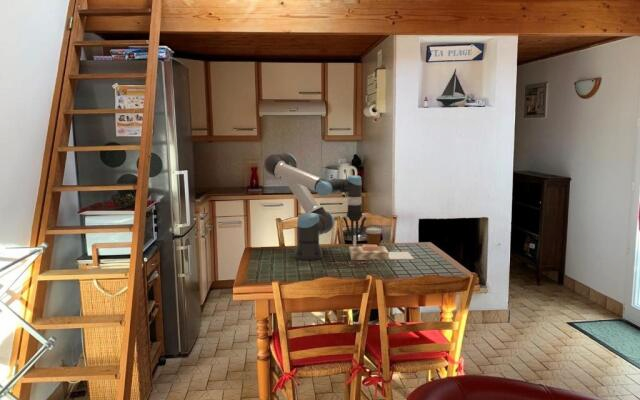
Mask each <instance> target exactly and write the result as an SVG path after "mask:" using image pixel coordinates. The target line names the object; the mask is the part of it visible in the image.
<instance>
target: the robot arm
mask: <svg viewBox="0 0 640 400" xmlns="http://www.w3.org/2000/svg"><path fill="white" fill-rule="evenodd" d="M263 168H264V170H265V172H266V173H268V174H269V175H270V176H273V177H277V178H280V180H281V181H285V182H286V184H287V186H288V188H289V189H290V190H291V192H292V194H293V195H294V196H295V197H294V198H296V200H297V201H298V203H299V204H300V206H301V208H302V210H303V211H304V213H302V214H300V215H299V216H298V217H297V223H296V225H297V244H296V248H295V250H294V258H295V259H297V260H301V261H315V260H319V259H322V258H323V251H322V249H321V245H320V236H321V235H324V234H327V233H329V232H330V231H332V230H333V229H334V227H335V218H334V216H333V214H332V213H331V212H328V211H326V209H325V208H324V207H323V206H322V205H321V206H320V205H319V203H318V202H317V201H316V199H315V196H314V195H313V194H312V193H311V191H310V190H309V189H311V190H313V191H315V192H316V193H317V194H318V195H319V196H320V197H321V196H323V197H324V196H325V197H326V196H329V195H334V194H342V193H343V194H347V204H348V205H347V212H346V215H344V216H342V219H343V221H344V223H345V227H346V228H345V229H346V231H347V234H348V235H349V236H350V240H351V242H352V246H353V247H356V246H357V242H358V241H359V235H362V233H363V229H364V224H365V221H366V220H367V217H366V216H364V215H363V212H362V206H363V205H362V187H363V186H362V184H363V183H362V177H361V176H360V175H348V176H347V178H336V177H335V178H330V179H324V178H321V177H320V176H317V175H314V174H312V173H309V172H307V171H304V170H302V169H300V168H298V162H297V158H296V157H295V156H294V155H293V154H291V153H287V152H283V153H282V152H281V153H272V154H269V155H267V156H266V157H265V159H264V161H263ZM348 220H349V221H350V227H349V223H348ZM360 220H361V221H360ZM359 221H360V227H359ZM354 222H355V225H354ZM354 226H355V230H354ZM354 231H355V234H354Z"/></svg>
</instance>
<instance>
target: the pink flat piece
mask: <svg viewBox="0 0 640 400" xmlns="http://www.w3.org/2000/svg"><path fill="white" fill-rule="evenodd" d="M362 248H363V250H364V251H378V246H377V245H368V244H362Z"/></svg>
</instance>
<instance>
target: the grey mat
mask: <svg viewBox="0 0 640 400" xmlns="http://www.w3.org/2000/svg"><path fill="white" fill-rule="evenodd" d="M388 252H389V260H390V261H412V260H413V261H414V260H415V258H414V257H413V256H412V255H411V253H410V251H388Z"/></svg>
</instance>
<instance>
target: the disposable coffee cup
mask: <svg viewBox="0 0 640 400" xmlns="http://www.w3.org/2000/svg"><path fill="white" fill-rule="evenodd" d="M365 229H366V230H365V233H366V242H367V245H377V246H380V244H381V237H382V236H381V235H382V232H383V230H382V228H380V227H366V228H365Z"/></svg>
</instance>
